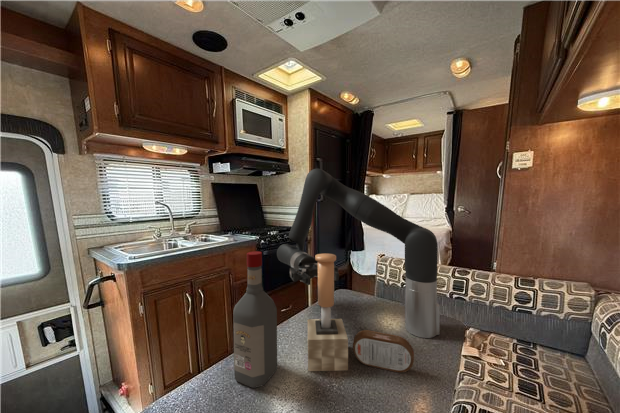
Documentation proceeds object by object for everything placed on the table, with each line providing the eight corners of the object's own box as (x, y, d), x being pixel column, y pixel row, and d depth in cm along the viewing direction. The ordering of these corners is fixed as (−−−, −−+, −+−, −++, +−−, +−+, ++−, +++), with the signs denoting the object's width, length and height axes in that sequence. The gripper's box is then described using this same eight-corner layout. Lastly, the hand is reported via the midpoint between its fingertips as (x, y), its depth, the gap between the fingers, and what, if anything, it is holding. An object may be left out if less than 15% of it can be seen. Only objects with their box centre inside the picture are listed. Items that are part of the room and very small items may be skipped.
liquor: (259, 392, 52) (257, 259, 51) (228, 379, 56) (226, 255, 55) (281, 366, 61) (280, 250, 60) (253, 356, 64) (251, 247, 64)
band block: (341, 345, 69) (341, 316, 69) (348, 370, 59) (347, 335, 59) (307, 346, 69) (307, 316, 68) (308, 371, 59) (307, 336, 58)
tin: (413, 369, 59) (413, 336, 59) (414, 378, 56) (415, 344, 56) (353, 356, 64) (353, 326, 64) (351, 364, 61) (351, 332, 61)
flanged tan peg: (335, 326, 66) (334, 253, 66) (337, 338, 61) (337, 258, 60) (315, 327, 66) (314, 253, 66) (316, 339, 61) (315, 258, 60)
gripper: (283, 255, 77) (299, 268, 62) (322, 251, 82) (346, 263, 67) (283, 278, 77) (299, 296, 62) (323, 272, 82) (346, 289, 67)
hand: (323, 279), depth 65 cm, fingers open, 8 cm apart
